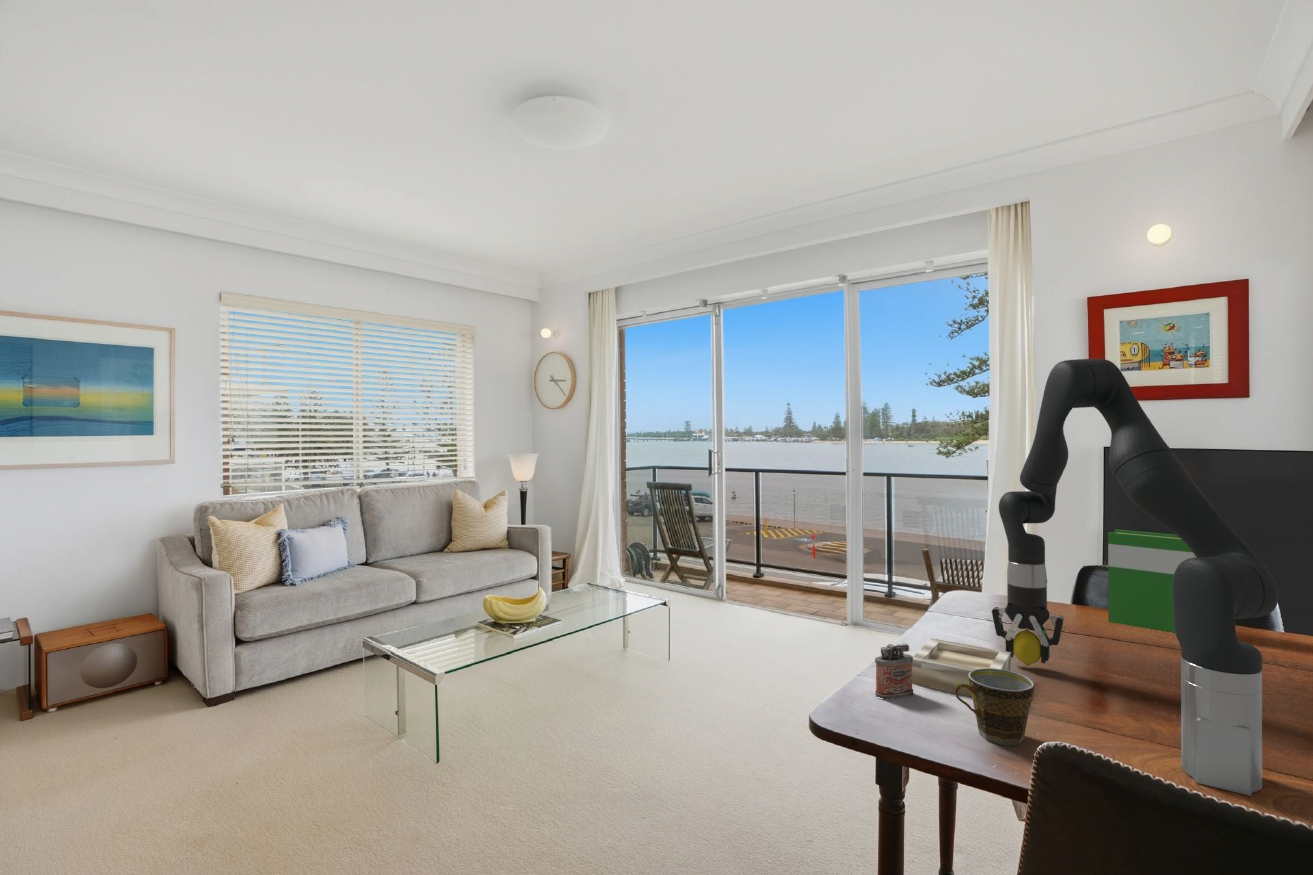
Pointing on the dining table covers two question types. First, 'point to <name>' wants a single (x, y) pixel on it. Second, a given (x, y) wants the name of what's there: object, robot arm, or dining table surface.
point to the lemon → (1027, 647)
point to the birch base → (947, 678)
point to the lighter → (894, 672)
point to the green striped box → (1143, 578)
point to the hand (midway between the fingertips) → (1027, 659)
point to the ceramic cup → (999, 704)
